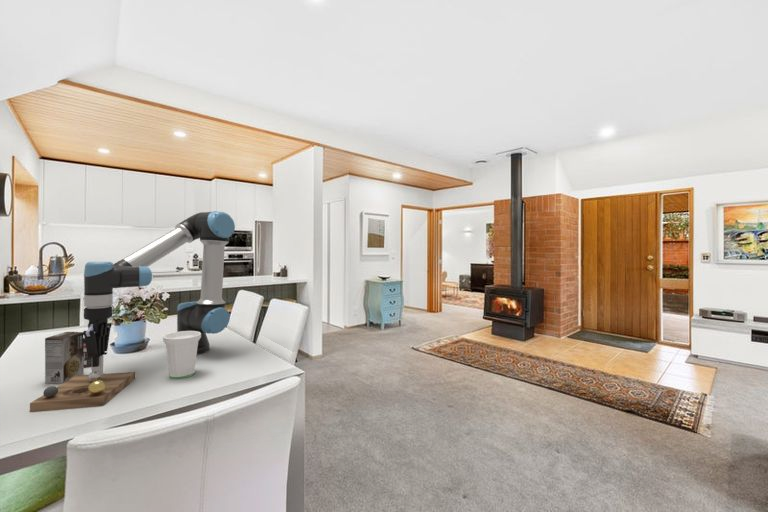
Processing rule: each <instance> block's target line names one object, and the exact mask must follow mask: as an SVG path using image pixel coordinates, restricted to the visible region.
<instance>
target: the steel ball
mask: <svg viewBox="0 0 768 512" xmlns="http://www.w3.org/2000/svg"><path fill="white" fill-rule="evenodd" d="M88 375H89V376H88V380H89V381H90V382H94V381H96V380H99V379H100V378H101V373H100V372H97V371H94V372H92V371H91V372H90V373H89V374H88Z"/></svg>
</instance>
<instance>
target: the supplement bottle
mask: <svg viewBox="0 0 768 512" xmlns="http://www.w3.org/2000/svg"><path fill="white" fill-rule="evenodd" d="M83 349H84V350H83V351H84V368H89V367H92V357H88V356H87V349H86V342H85V337H84V336H83Z"/></svg>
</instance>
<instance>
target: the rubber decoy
mask: <svg viewBox="0 0 768 512" xmlns="http://www.w3.org/2000/svg"><path fill="white" fill-rule="evenodd" d="M57 387H58V386H54V385H50V386H47V387H46V388H45V389H44V390H43V395H44V396H45V397H53V396H55V395H56V394H57V393H58V388H57Z"/></svg>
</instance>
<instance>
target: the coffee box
mask: <svg viewBox="0 0 768 512" xmlns="http://www.w3.org/2000/svg"><path fill="white" fill-rule="evenodd" d="M83 338H84V335H83V331H81V332H80V331H79V332H78V331H64V332H61V333H57V334H54V335H52V336H48V337H45V338H44V351H45V352H44V364H45V365H44V375H45V376H44V383H45V385H49V384H51V385H52V384H63V383H65V382H66V381H68V380H70V379H72V378H73V377H75V376H79V375H85V372H84V368H85V367H84V351H83V350H84V349H83Z"/></svg>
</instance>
